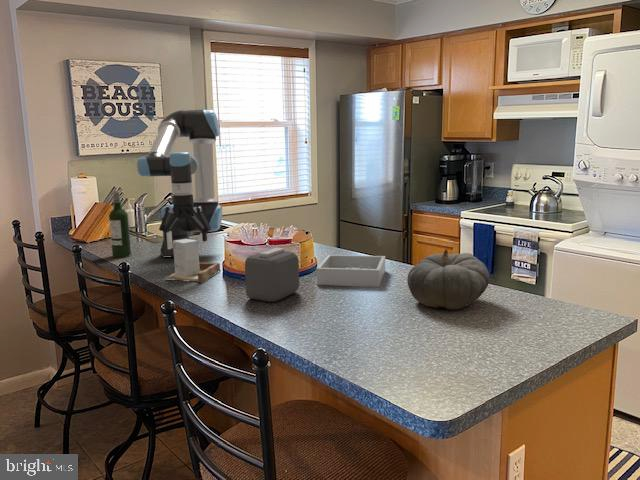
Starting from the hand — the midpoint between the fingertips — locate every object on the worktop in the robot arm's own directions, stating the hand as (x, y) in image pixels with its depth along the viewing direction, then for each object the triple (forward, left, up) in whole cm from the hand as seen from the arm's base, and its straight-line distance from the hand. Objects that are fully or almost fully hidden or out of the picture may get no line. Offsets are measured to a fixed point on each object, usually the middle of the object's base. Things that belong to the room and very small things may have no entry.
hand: (186, 249), depth 211 cm
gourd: (+21, +97, -11) cm, 100 cm away
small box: (0, 0, -10) cm, 10 cm away
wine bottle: (-31, -47, -11) cm, 57 cm away
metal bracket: (-1, +65, -11) cm, 66 cm away
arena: (0, +1, -11) cm, 11 cm away
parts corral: (-6, +63, -11) cm, 64 cm away
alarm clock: (+21, +41, -11) cm, 48 cm away
